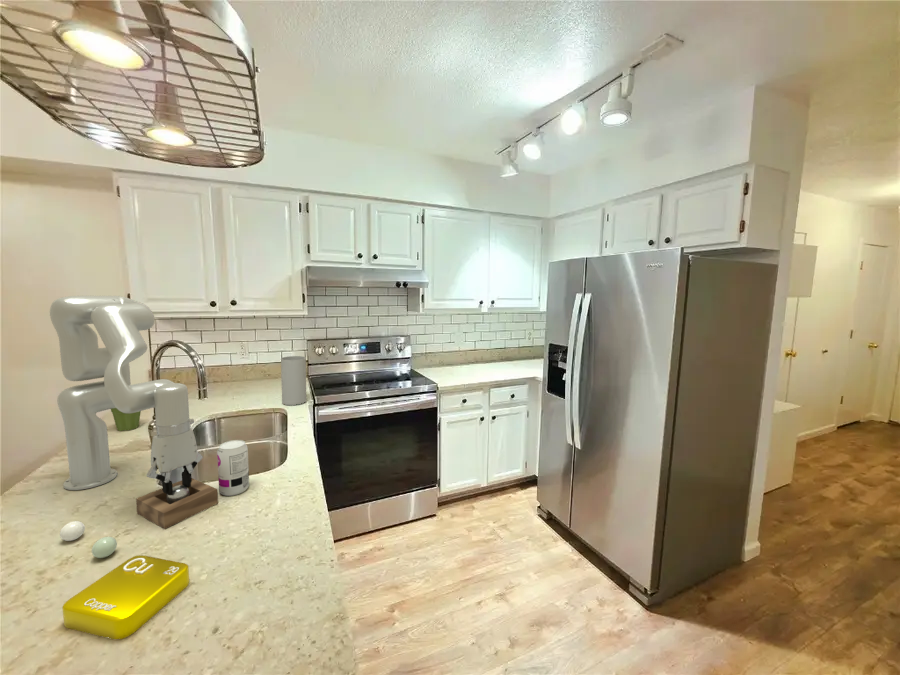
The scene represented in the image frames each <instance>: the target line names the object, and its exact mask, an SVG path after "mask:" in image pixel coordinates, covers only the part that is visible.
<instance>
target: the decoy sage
mask: <svg viewBox="0 0 900 675" xmlns="http://www.w3.org/2000/svg"><path fill="white" fill-rule="evenodd" d="M117 546H118V542H117V539H116V538H115V537H112V536H104V537H101V538H99V539H97V541H95V542H94V544H93V545H92V548H91V554H92V555H93V557H95V558H97V559H104V558H107V557H108V556H110V555H112V554H113V553H114V552H115V551H116V549H117Z"/></svg>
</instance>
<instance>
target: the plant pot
mask: <svg viewBox="0 0 900 675" xmlns="http://www.w3.org/2000/svg"><path fill="white" fill-rule="evenodd" d="M110 412H111V413H112V416H113V419H114V420H113V421H114V424H115V427H116V430H117V431H119V432H123V431H127V432H128V431H132V430H135V429H137V428H139V426H140V420H141V419H140V418H141V414H142V411H139V412H135V413H123V412H121V411H119V410H118V409H117V408H112V409H110Z"/></svg>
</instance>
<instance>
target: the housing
mask: <svg viewBox="0 0 900 675" xmlns="http://www.w3.org/2000/svg"><path fill="white" fill-rule="evenodd" d="M178 485H182V479H181V480H179V481H176V482H174V483H172V488H173V487H175V486H178ZM187 488H188V487H187ZM188 489H189V491H190V495H189V496H188V497H186V498H184V499H181V500H179V501H177V502H174V503H172V504H169V503H168V502H167V494H166V493H164V492H163V490H162V487H161V488H159V489H157V490H154V491H152V492H149V493H147V494H144V495H141V496H139V497H136V498H135V502H136V505H135V506H136V515H139V516H140V517H142V518H145V519H146V520H148V521H149V522H151V523H153V524H155V525H156V526H159V527H160V528H162V529H163V530H167V529H169V528H170V527H172V526H174V525H177V524H178V523H180V522H181V523H182V521H185V520H186V519H189V518H191V517H193V516H195V515H197V514H200V513H201V512H203V511H205V510H208V509H209V508H212V507H214V506H215V505H218V504H219V497H218V494H219V491H218V488H216V487H215V486H214V487H213V486H211V485H209V484H206V483H205V482H202V481H200V480H197V479H195V478H193V477H192V482H191V487H189V488H188Z"/></svg>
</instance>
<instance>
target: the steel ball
mask: <svg viewBox="0 0 900 675" xmlns="http://www.w3.org/2000/svg"><path fill="white" fill-rule="evenodd" d="M189 495H190V491H189V489H188V488H187V487H186V486H184V485H178V486H175V487H173V494H172V495H168V494H167V502H168V503H169V504H172V503H174V502H177V501H179V500H181V499H184V498H186V497H188V496H189Z"/></svg>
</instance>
